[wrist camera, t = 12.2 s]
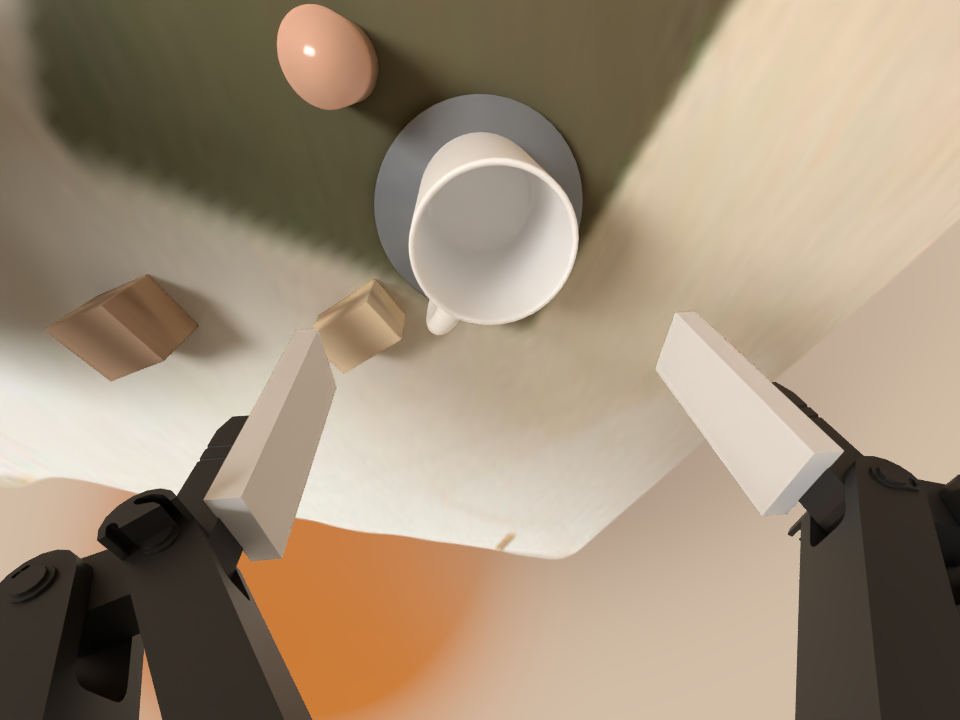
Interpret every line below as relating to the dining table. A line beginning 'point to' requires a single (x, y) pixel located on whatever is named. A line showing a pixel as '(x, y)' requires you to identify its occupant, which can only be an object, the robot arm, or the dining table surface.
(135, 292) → the walnut block
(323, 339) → the beech block
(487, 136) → the mug
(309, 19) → the peach egg shape
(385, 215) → the gray plate
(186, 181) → the dining table surface
